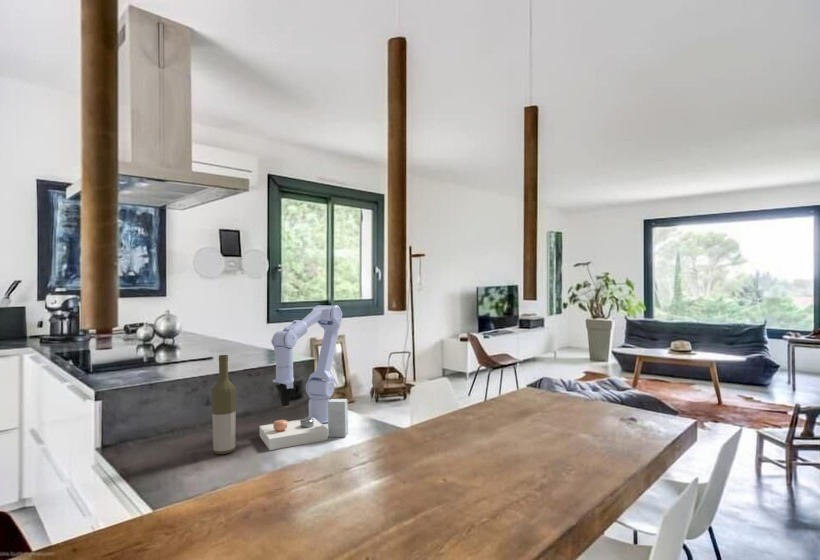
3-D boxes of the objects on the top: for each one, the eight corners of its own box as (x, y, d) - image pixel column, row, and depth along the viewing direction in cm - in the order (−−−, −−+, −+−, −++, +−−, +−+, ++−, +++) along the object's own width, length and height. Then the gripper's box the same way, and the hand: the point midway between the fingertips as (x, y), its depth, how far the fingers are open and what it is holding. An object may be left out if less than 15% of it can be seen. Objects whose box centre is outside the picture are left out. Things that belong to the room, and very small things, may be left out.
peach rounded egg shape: (272, 436, 154) (272, 421, 154) (285, 434, 156) (285, 419, 156) (275, 440, 150) (275, 424, 150) (288, 438, 152) (288, 422, 152)
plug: (299, 434, 158) (298, 419, 158) (311, 432, 160) (311, 417, 160) (302, 438, 154) (302, 422, 154) (315, 436, 156) (315, 420, 156)
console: (259, 436, 158) (259, 425, 158) (313, 427, 167) (313, 417, 168) (269, 450, 144) (269, 439, 144) (328, 439, 153) (327, 429, 154)
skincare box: (348, 433, 160) (347, 398, 160) (345, 437, 155) (345, 401, 156) (331, 433, 160) (330, 398, 160) (327, 437, 156) (327, 401, 156)
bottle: (207, 456, 140) (206, 357, 141) (218, 447, 147) (217, 353, 148) (230, 456, 140) (229, 357, 140) (240, 448, 147) (239, 353, 147)
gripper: (268, 364, 163) (268, 402, 163) (277, 370, 150) (278, 412, 150) (288, 362, 166) (288, 399, 166) (299, 368, 154) (299, 409, 154)
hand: (285, 405), depth 159 cm, fingers closed
